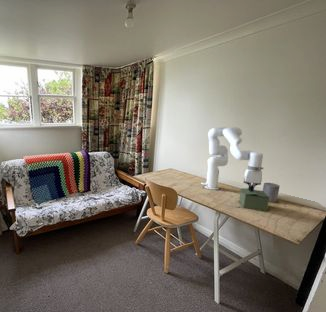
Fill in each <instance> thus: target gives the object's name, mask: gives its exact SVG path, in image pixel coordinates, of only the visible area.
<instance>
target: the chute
mask: <svg viewBox="0 0 326 312" xmlns="http://www.w3.org/2000/svg"><path fill="white" fill-rule="evenodd" d="M254 191H255V192H256V193H257V194H256V195H246V194H245V193H244V192H243V190H242V189H241V188H240V194H239V200H238V202H239V203H240V205H241V206H242V207H243V208H244V209H250V210H256V211H257V210H258V211H264V212H267V211H268V207H269V203H270V202H269V196H268V195H267V194H265V193H264V192H263V190H258V189H254Z"/></svg>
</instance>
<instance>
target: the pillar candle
mask: <svg viewBox="0 0 326 312" xmlns="http://www.w3.org/2000/svg"><path fill="white" fill-rule="evenodd" d="M280 187H281V185H279V184H277V183H274V182H264V183H263V188H262V191H263V192H264V193H265V194H267V195H268V196H269V202H268V203H276V202H277V201H278V197H279V192H280Z"/></svg>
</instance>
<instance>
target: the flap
mask: <svg viewBox="0 0 326 312" xmlns="http://www.w3.org/2000/svg"><path fill="white" fill-rule="evenodd" d="M248 188H249V187H246V188H244V187H241V188H240V190H241V189H242V190H243V192H244V193H245V194H246V195H256V194H257V193H256V192H255V191H254V190H255V189H254V190H253V192H252V191H249V190H248Z"/></svg>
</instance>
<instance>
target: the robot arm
mask: <svg viewBox="0 0 326 312" xmlns="http://www.w3.org/2000/svg"><path fill="white" fill-rule="evenodd" d="M242 133H243V131H242V129H241V128H240V127H237V126H235V127H233V126H232V127H231V126H230V127H227V126H223V127H212V128H211V129H209V131H208V133H207V136H208V138H207V139H208V153H209V155H210V157H209V158H207V174H206V181H205V182H200V185H202V186H203V187H204V188H205V189H207V190H211V191H217V190H218V191H219V189H220V187H219V186H218V185H219V175H220V169H219V167H225V166H227V165H228V163H229V152H230V153H231V155H232V157H233V158H234V159H235V160H237V161H248V164H247V168H246V169H245V172H244V176H243V184H246V185H248V187H247V188H248V190H249V191H252V192H253V190H255V187H257V186H261V185H262V180H263V171H262V170H264V167H263V165H262V163H263V158H264V153H263V152H259V151H257V152H256V151H254V150H241V149H240V148H239V145H240V144H241V143H242V141H243V138H242V137H241V135H242ZM219 137H224V138H225V139H226V141H227V142H228V143H229V144H230V146H229V149H228V147H227V146H225V145H221V144H220V142H221V141H220V139H219ZM229 150H230V151H229Z"/></svg>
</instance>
